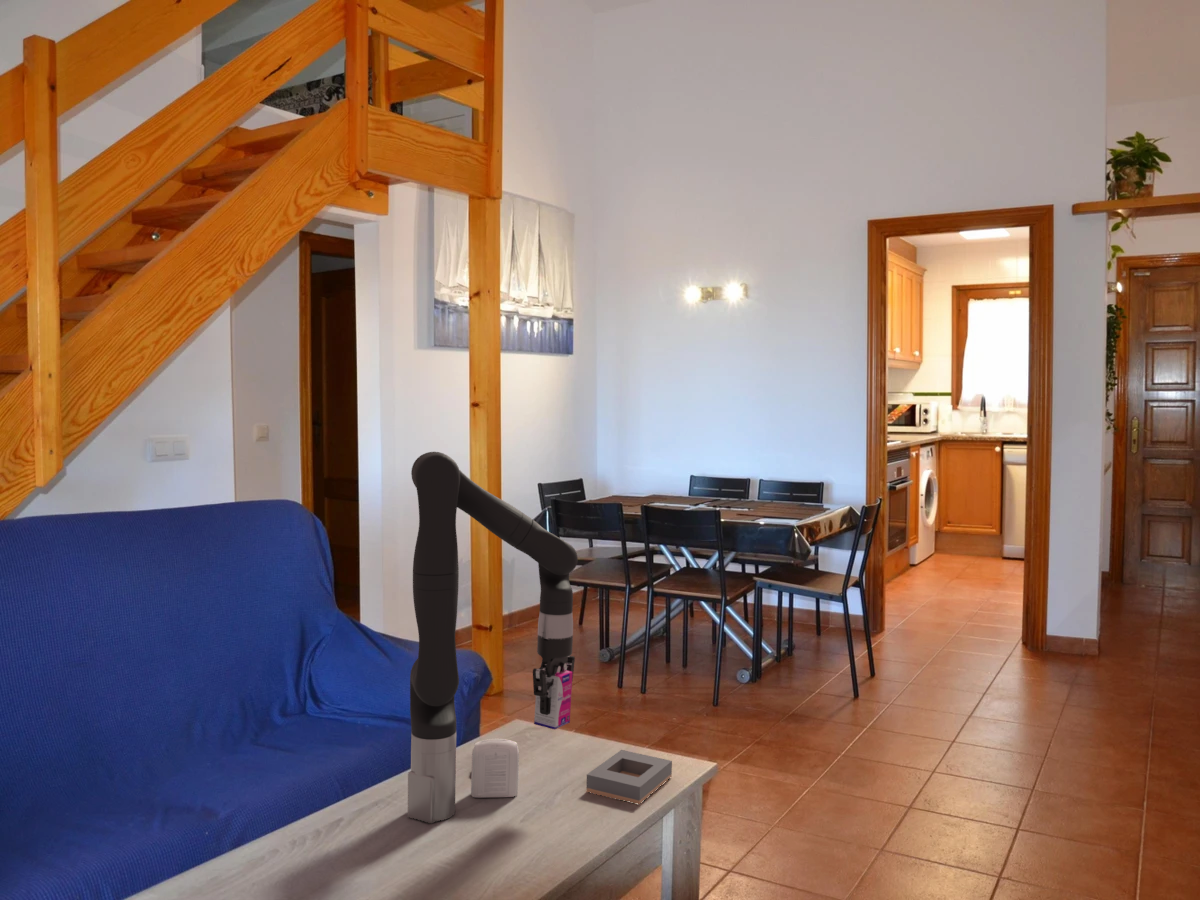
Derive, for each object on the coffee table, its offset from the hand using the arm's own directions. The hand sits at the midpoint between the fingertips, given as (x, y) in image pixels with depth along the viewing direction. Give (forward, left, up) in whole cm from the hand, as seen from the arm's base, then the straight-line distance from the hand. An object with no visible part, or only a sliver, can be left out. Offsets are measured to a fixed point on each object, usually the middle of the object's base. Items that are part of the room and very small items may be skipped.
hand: (552, 709), depth 209 cm
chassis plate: (+16, -11, -20) cm, 28 cm away
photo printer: (-4, +12, -20) cm, 24 cm away
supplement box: (0, 0, -3) cm, 3 cm away
